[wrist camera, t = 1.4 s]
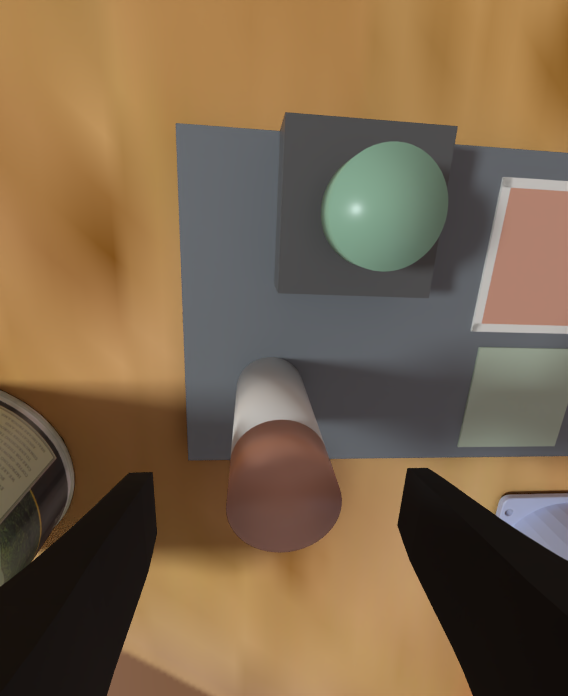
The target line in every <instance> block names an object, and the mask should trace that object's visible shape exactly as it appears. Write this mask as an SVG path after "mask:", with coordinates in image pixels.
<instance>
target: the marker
mask: <svg viewBox="0 0 568 696" xmlns="http://www.w3.org/2000/svg"><path fill="white" fill-rule="evenodd" d="M341 506H342V497H341V492H340V488H339V485H338V482H337V479H336V476H335V474H334V471H333V468H332V465H331V462H330V459H329V456H328V453H327V450H326V447H325V445H324V442H323V439H322V436H321V433H320V430H319V427H318V424H317V421H316V419H315V416H314V413H313V410H312V407H311V404H310V401H309V398H308V395H307V393H306V390H305V387H304V384H303V381H302V378H301V376H300V373H299V372H298V370H297V369H296V368H295V367H294V366H293V365H292V364H291V363H289V362H288V361H286V360H283V359H281V358H276V357H266V358H261V359H258V360H255V361H253V362H252V363H250V364H249V365H248V366H247V367H246V368H245V369H244V370H243V371H242V372H241V374H240V376H239V379H238V382H237V390H236V402H235V413H234V424H233V436H232V447H231V459H230V470H229V481H228V493H227V504H226V512H227V518H228V521H229V524H230V526H231V528H232V529H233V531H234V532H235V533H236V535H237V536H238V537H239V538H240V539H242V540H243V541H244V542H246V543H247V544H249V545H251V546H253V547H255V548H258V549H260V550H264V551H269V552H290V551H295V550H299V549H302V548H305V547H308V546H310V545H312V544H314V543H315V542H317V541H319V540H320V539H321V538H323V537H324V536H325V535H326V534H327V533H328V532H329V531H330V530H331V529H332V527H333V526H334V524H335V523H336V521H337V519H338V517H339V514H340V511H341Z"/></svg>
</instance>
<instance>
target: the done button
mask: <svg viewBox="0 0 568 696" xmlns="http://www.w3.org/2000/svg"><path fill="white" fill-rule="evenodd" d="M447 211H448V191H447V186H446V182H445V179H444V176H443V174H442V171H441V170H440V168H439V166H438V165H437V163H436V162H435V161H434V160H433V158H432V157H431V156H430V155H428V154H427V153H426V152H425V151H423V150H422V149H420V148H418V147H416V146H414V145H412V144H408V143H405V142H398V141H390V142H383V143H379V144H376V145H373V146H371V147H369V148H366V149H365V150H363V151H362V152H360V153H359V154H357V155H356V156H354V157H353V158H352V159H350V160H349V161H347V162H346V163H345V164H344V165H342V166H341V167H340V168H339V169H338V170H337V171H336V173H335V174H334V175H333V177H332V178H331V179H330V181H329V183H328V185H327V187H326V189H325V192H324V195H323V199H322V204H321V224H322V228H323V232H324V235H325V237H326V239H327V241H328V243H329V245H330V246H331V248H332V249H333V250H334V251H335V252H336V253H337V254H338V255H339V256H340V257H341V258H342V259H344V260H346V261H347V262H349V263H351V264H354V265H357V266H360V267H363V268H366V269H369V270H373V271H381V272H385V271H394V270H399V269H402V268H405V267H407V266H409V265H411V264H413V263H415V262H416V261H418V260H419V259H420V258H422V257H423V256H424V255H425V254H426V253H427V252H428V251H429V250H430V249H431V248H432V246H433V245H434V244H435V242H436V241H437V239H438V237H439V236H440V234H441V232H442V229H443V227H444V224H445V221H446V217H447Z"/></svg>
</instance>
